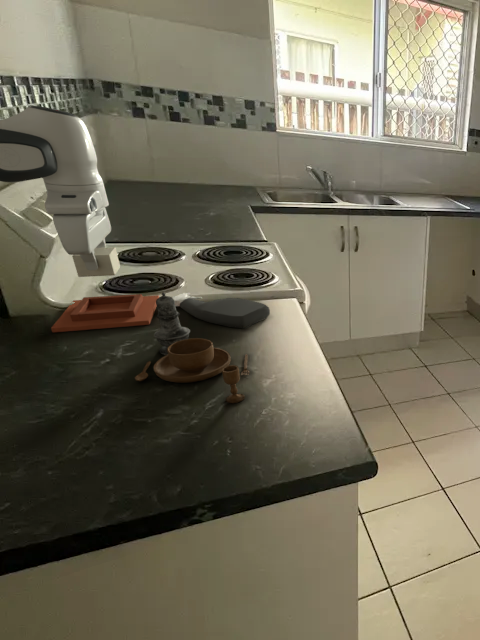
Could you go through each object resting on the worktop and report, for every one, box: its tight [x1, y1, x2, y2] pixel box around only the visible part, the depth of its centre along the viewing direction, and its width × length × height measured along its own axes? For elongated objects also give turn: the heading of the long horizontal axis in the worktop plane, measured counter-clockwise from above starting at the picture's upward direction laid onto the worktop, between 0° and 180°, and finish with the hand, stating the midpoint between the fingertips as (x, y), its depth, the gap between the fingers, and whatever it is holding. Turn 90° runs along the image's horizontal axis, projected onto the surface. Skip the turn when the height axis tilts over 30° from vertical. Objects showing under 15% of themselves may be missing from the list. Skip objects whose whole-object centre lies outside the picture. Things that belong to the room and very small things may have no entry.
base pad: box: [50, 293, 160, 333], centre depth 104 cm, size 16×16×2 cm
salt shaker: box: [153, 291, 191, 356], centre depth 91 cm, size 6×6×12 cm
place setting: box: [134, 337, 250, 404], centre depth 83 cm, size 18×20×6 cm
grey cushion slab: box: [171, 291, 271, 329], centre depth 110 cm, size 3×11×24 cm
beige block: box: [71, 246, 121, 278], centre depth 100 cm, size 6×6×4 cm
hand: (97, 264), depth 100 cm, fingers closed on beige block, 6 cm apart
